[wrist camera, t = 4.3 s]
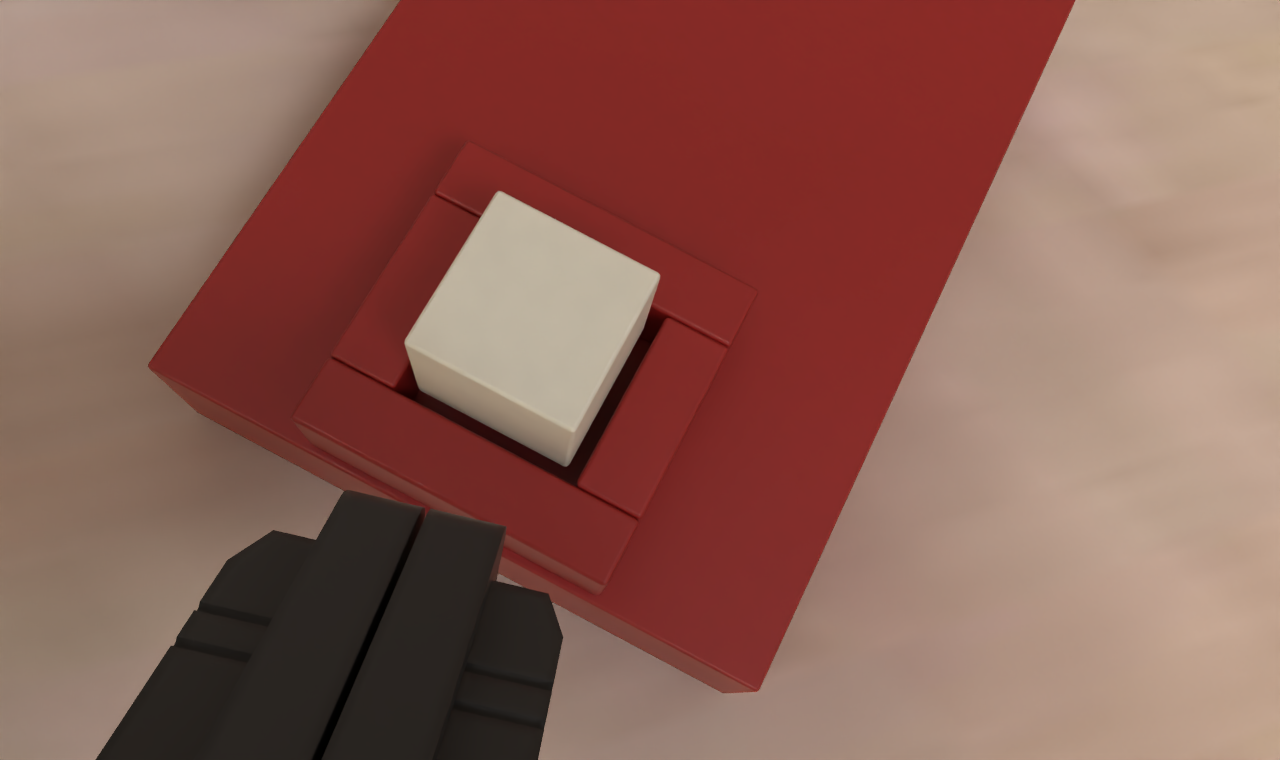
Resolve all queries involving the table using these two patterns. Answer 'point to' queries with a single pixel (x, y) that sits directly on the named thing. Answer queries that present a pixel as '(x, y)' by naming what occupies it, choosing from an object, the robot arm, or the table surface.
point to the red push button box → (653, 236)
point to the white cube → (530, 327)
